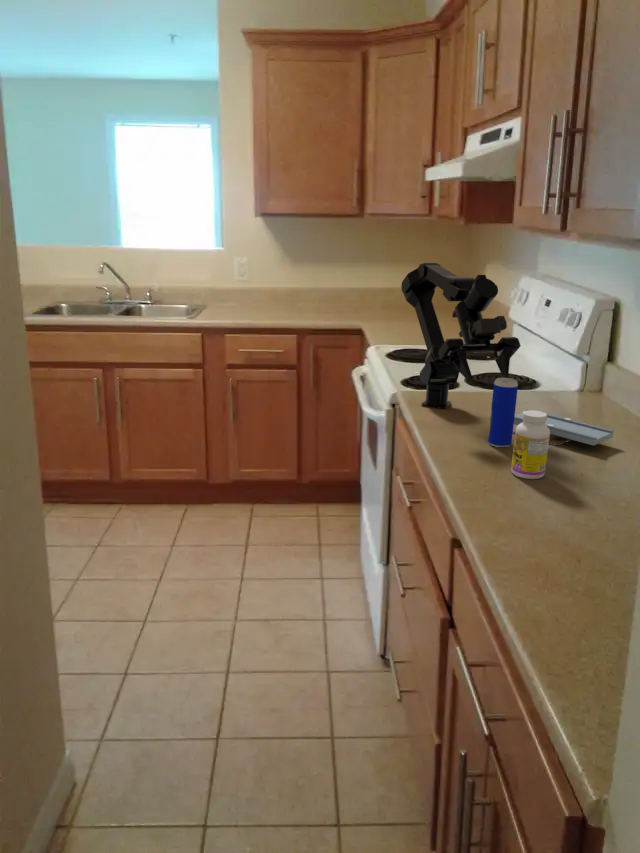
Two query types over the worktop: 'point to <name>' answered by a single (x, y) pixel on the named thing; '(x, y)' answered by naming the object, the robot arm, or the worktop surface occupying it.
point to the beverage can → (503, 412)
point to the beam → (573, 429)
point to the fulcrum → (557, 439)
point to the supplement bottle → (531, 446)
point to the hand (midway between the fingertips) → (488, 380)
